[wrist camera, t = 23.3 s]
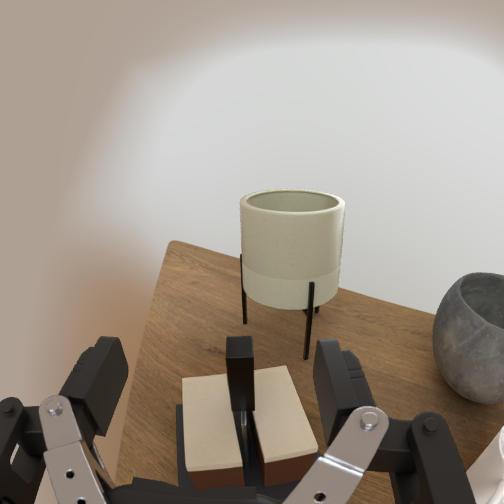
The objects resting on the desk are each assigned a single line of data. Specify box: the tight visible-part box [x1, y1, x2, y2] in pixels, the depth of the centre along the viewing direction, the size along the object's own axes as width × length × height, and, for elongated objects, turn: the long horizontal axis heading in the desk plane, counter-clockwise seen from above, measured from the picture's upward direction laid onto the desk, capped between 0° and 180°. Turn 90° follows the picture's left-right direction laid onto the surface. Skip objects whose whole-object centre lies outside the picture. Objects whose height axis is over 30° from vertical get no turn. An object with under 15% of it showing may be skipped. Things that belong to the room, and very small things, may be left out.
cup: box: [466, 426, 504, 504], centre depth 17 cm, size 8×12×10 cm
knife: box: [226, 336, 255, 469], centre depth 28 cm, size 2×6×16 cm, turn 2°
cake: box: [176, 365, 320, 503], centre depth 31 cm, size 16×16×8 cm
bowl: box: [432, 273, 504, 404], centre depth 35 cm, size 20×20×15 cm
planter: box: [240, 189, 345, 360], centre depth 50 cm, size 15×16×23 cm
